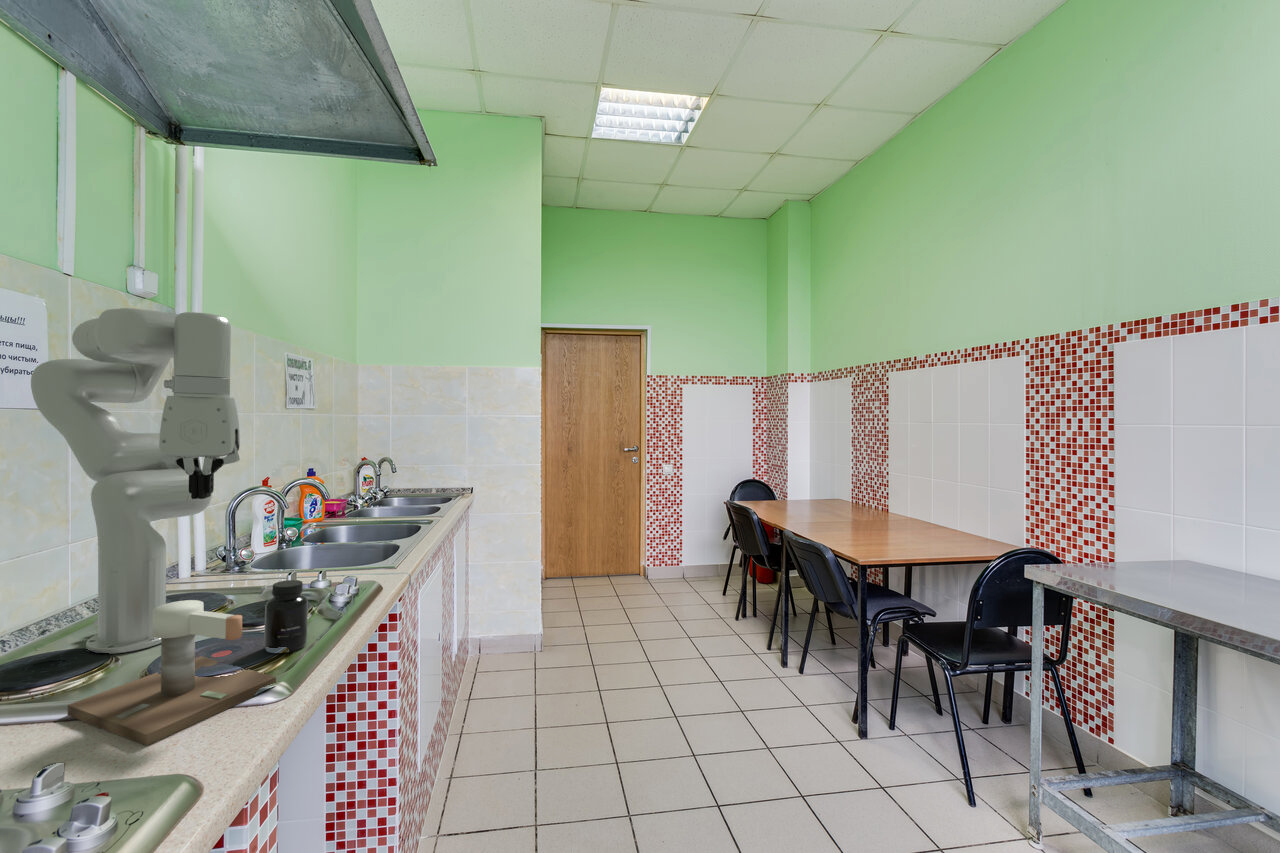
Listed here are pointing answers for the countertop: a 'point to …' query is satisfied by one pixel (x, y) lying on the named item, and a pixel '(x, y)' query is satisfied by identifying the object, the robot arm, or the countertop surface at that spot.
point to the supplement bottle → (286, 616)
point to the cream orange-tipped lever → (194, 621)
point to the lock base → (168, 696)
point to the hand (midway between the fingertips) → (201, 497)
